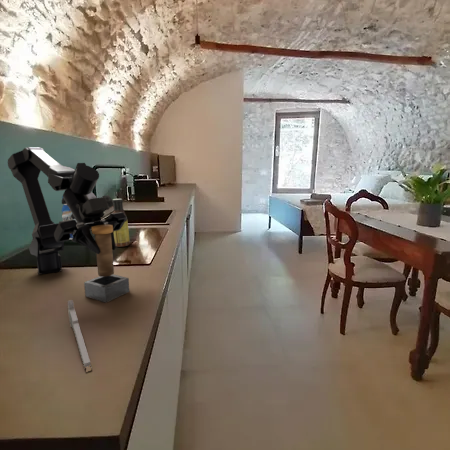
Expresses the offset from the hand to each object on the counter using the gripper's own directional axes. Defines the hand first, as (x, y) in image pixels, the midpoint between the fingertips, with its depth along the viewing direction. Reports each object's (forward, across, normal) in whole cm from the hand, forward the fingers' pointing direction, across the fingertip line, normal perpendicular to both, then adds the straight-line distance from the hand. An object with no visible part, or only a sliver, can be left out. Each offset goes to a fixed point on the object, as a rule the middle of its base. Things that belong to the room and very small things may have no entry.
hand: (107, 251), depth 85 cm
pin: (+4, 0, +6) cm, 7 cm away
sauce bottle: (-20, +33, +38) cm, 55 cm away
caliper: (+20, -18, -2) cm, 27 cm away
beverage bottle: (-42, +29, +60) cm, 78 cm away
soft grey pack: (-51, +46, +69) cm, 97 cm away
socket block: (+8, 0, +10) cm, 12 cm away
